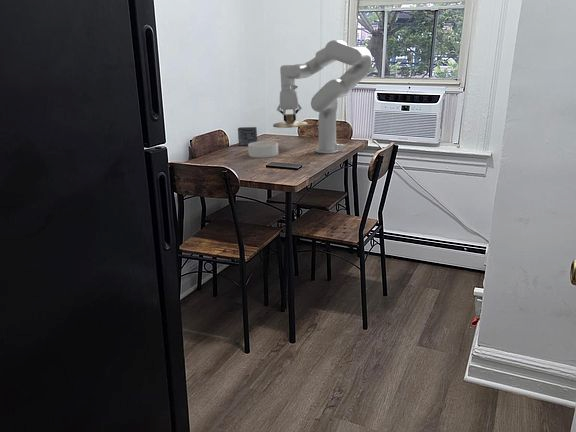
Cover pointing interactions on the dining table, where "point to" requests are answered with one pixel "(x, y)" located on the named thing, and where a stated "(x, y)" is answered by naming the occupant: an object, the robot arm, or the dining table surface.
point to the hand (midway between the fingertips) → (289, 121)
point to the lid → (289, 123)
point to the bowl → (263, 149)
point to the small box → (247, 135)
